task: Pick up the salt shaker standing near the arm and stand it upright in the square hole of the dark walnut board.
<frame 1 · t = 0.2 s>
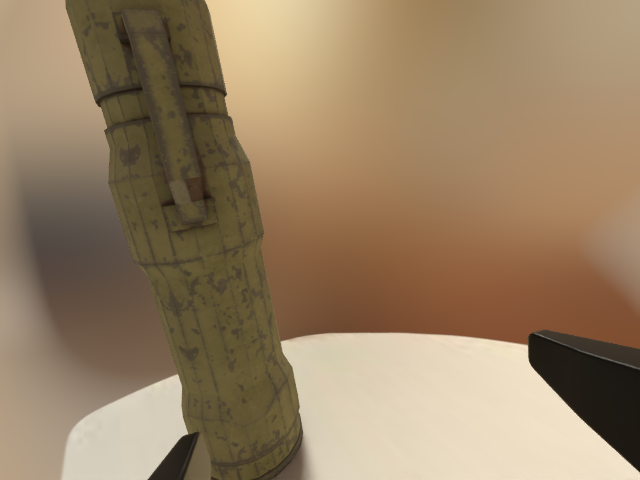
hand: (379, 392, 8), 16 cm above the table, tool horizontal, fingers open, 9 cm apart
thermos: (253, 439, 27), on the table
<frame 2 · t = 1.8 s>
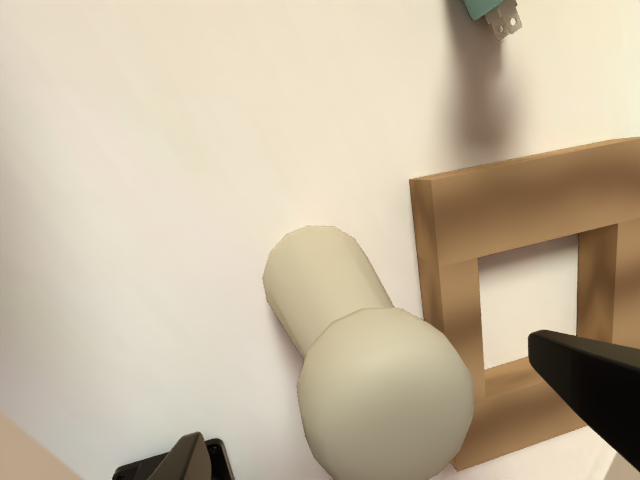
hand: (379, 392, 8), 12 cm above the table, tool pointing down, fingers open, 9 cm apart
salt shaker: (309, 264, 19), on the table
walnut holder board: (519, 298, 23), on the table
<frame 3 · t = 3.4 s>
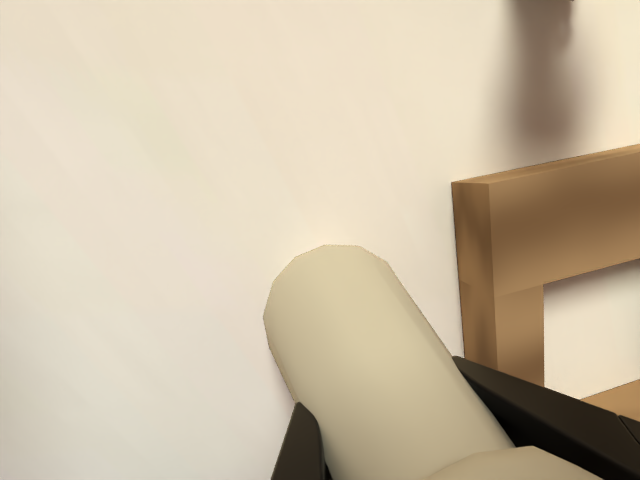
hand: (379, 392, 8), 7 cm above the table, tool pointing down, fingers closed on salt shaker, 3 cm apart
salt shaker: (323, 292, 15), on the table, touching gripper
walnut holder board: (579, 328, 18), on the table
when the fingers open (8 cm above the table, at t = 8.2 s): salt shaker stays where it is, resting in walnut holder board.
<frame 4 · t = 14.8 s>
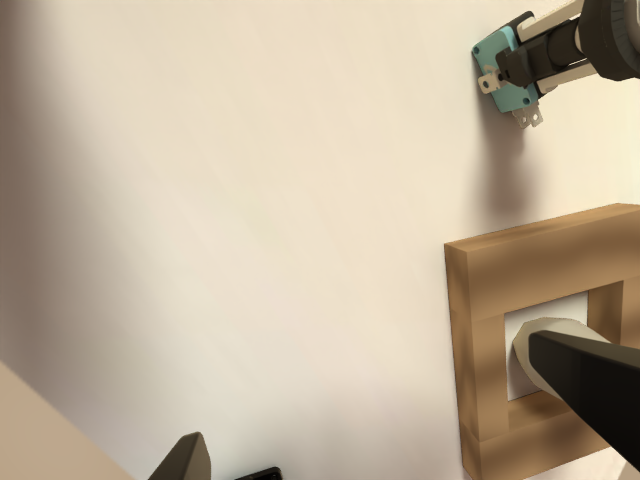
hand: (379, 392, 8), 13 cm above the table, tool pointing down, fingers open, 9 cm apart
salt shaker: (532, 339, 26), resting in walnut holder board
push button: (497, 84, 21), on the table
walnut holder board: (536, 340, 26), on the table
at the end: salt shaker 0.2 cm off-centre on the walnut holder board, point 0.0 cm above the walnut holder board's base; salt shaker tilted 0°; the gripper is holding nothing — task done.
